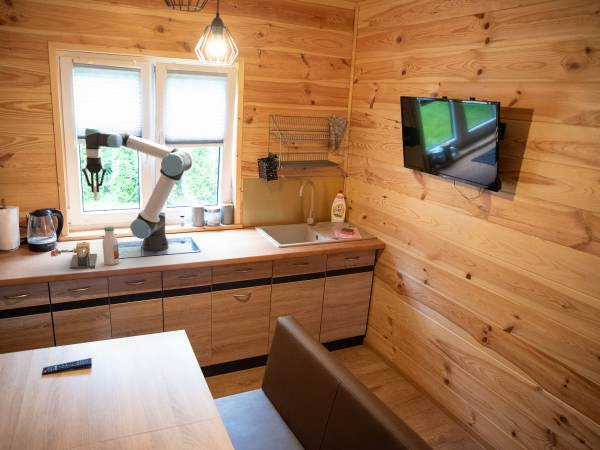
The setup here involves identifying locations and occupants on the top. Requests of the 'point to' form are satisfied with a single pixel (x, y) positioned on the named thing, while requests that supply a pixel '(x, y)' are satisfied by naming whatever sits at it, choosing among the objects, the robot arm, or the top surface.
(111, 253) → the milk bottle
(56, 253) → the valve lever
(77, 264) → the valve stand
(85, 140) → the robot arm
